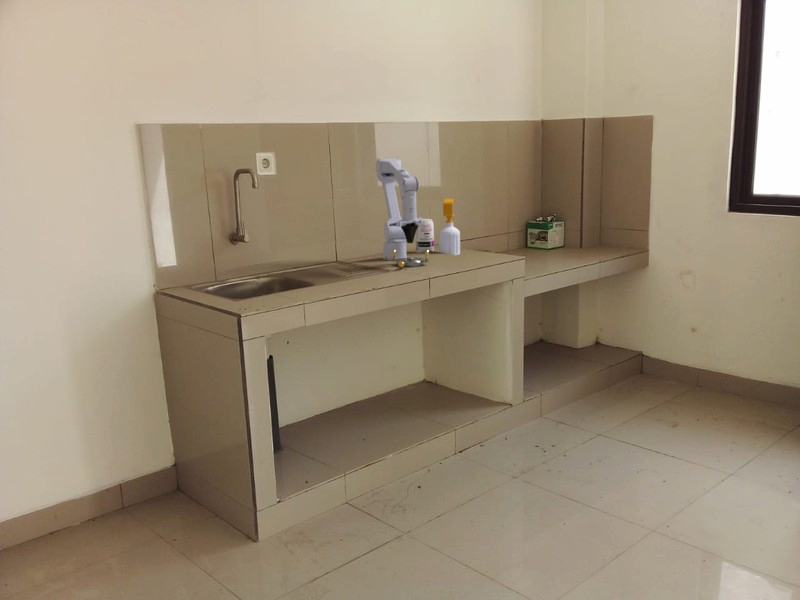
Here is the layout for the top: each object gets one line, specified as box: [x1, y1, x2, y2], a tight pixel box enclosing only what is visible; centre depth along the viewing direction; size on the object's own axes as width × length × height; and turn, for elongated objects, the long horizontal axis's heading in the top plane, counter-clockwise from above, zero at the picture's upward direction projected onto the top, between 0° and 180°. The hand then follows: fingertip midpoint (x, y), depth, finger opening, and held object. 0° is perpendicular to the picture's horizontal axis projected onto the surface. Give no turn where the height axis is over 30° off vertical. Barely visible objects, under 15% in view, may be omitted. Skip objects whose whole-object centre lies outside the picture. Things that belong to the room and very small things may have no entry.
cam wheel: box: [391, 249, 430, 268], centre depth 268 cm, size 16×17×6 cm
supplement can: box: [415, 218, 435, 253], centre depth 307 cm, size 8×8×15 cm
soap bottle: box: [438, 198, 461, 257], centre depth 297 cm, size 9×9×25 cm
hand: (410, 242), depth 269 cm, fingers closed
